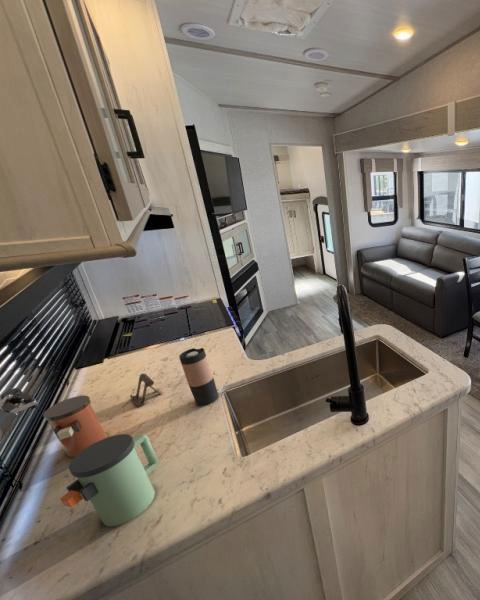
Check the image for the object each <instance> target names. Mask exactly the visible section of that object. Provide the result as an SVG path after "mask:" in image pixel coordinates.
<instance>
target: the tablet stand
mask: <svg viewBox="0 0 480 600" xmlns="http://www.w3.org/2000/svg"><path fill="white" fill-rule="evenodd" d="M142 382H143V383H144V384H143V385H144V386H143V391H142V397H141V398H140V391H141V386H142ZM154 383H155V382H154V380H153V379H152V378H151V377H150V376H149V375H148V374H147V373H141V374H139V377H138V382H137V388H136V394H135V395H133V394H129V398H130V399H131V401H133V403H134V404H135V405H136V407H138V408H141V407H143V406H144V404H145V401H146V395H147V389H148V388H150V389H152V390H153V391H155V392H156V393H157V394H158V395H162V393H161V392H160V391H159V390H158V389H156V388H155V387H154V386H153V385H154Z"/></svg>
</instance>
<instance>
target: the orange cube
mask: <svg viewBox="0 0 480 600" xmlns="http://www.w3.org/2000/svg"><path fill="white" fill-rule="evenodd" d="M59 500H60V502H61V504H62V505H63V506H64V507H69V508H74V507H75V506H76V505H77V504H78V503H79V502H81V501H82V500H84V498H83V497H82V495H81V494H80V493H79V492H77V491H73V490H71V491H69V492H68V491H67V492H66V493H65V494H64V495H62V496H61V497H60V498H59Z"/></svg>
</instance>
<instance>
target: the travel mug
mask: <svg viewBox="0 0 480 600" xmlns="http://www.w3.org/2000/svg"><path fill="white" fill-rule="evenodd" d="M178 358H179V361H180V363H181V367H182V369H183V372H184V375H185V379H186V381H187V385H188V387H189V389H190V391H191V394H192V396H193V399H194V401H195V404H196V406H199V407H203V406H208V405H211V404H212V403H214V402H216V401H217V400H218V399H219V393H218V389H217V386H216V381H215V378H214V374H213V372H212V368H211V365H210V363H209V360H208V356H207V354H206V350H205V349H204V348H203V347H200V348H194V347H193V348H189V349H187V350H184V351H183V352H181V353H180V354H179V355H178Z"/></svg>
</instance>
